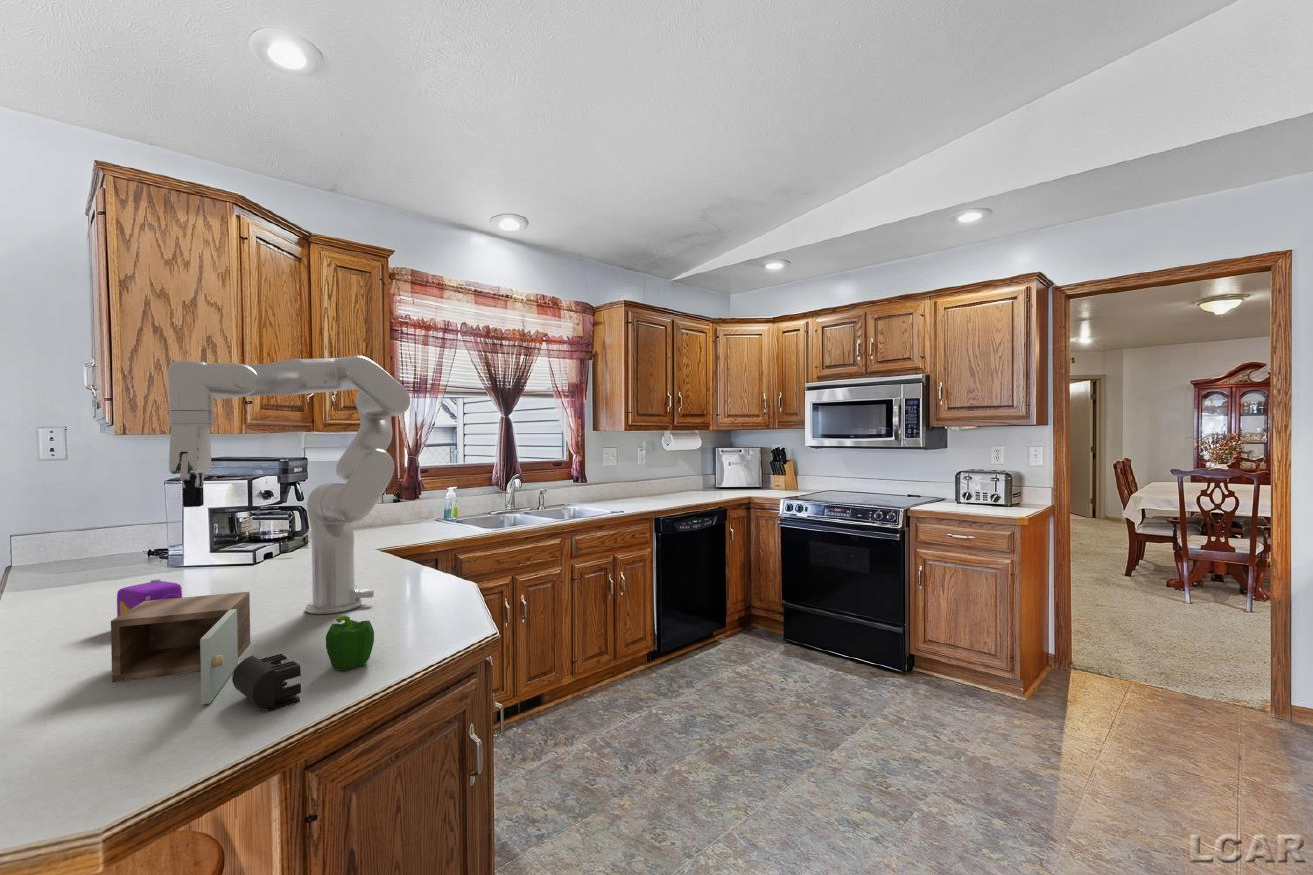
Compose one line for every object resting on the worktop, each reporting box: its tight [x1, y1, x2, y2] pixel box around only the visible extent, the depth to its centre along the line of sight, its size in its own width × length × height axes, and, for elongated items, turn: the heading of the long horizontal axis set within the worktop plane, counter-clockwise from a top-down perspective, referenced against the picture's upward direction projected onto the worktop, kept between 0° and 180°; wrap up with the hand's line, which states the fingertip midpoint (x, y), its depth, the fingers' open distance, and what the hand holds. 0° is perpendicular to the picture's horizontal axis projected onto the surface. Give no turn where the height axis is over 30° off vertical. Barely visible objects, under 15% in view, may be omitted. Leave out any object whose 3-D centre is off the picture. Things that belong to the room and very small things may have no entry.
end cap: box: [231, 653, 302, 712], centre depth 100 cm, size 10×7×7 cm
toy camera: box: [116, 578, 183, 618], centre depth 141 cm, size 11×14×10 cm
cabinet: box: [110, 591, 251, 683], centre depth 119 cm, size 18×14×11 cm
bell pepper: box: [325, 615, 375, 671], centre depth 115 cm, size 8×8×10 cm
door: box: [200, 609, 239, 705], centre depth 107 cm, size 18×2×11 cm, turn 23°
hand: (193, 506), depth 129 cm, fingers closed
